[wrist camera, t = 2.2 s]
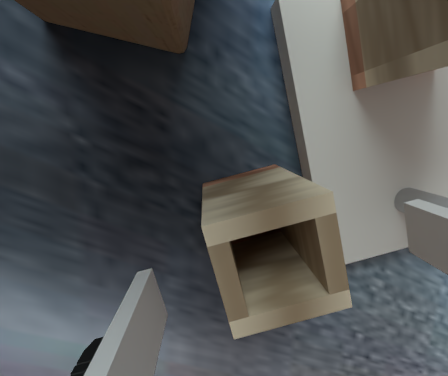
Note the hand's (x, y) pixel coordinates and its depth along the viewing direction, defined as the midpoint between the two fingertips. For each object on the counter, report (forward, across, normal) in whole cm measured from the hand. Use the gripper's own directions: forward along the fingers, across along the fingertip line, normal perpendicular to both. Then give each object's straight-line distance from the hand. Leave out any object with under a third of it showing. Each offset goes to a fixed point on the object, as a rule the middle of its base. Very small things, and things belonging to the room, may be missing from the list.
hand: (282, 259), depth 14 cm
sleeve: (+9, 0, 0) cm, 9 cm away
